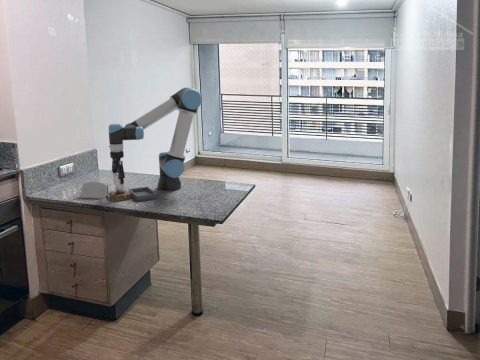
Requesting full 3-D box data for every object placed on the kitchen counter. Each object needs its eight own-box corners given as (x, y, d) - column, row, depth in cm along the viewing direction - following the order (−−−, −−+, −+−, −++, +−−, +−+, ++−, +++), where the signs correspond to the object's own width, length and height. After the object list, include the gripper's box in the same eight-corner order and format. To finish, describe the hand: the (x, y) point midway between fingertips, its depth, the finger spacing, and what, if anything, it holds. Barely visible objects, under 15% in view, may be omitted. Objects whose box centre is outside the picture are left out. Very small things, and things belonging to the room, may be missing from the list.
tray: (147, 191, 286) (147, 186, 285) (157, 198, 271) (157, 193, 270) (128, 193, 280) (128, 189, 280) (137, 201, 265) (137, 196, 264)
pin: (122, 196, 275) (120, 173, 271) (124, 198, 271) (122, 175, 268) (115, 197, 273) (114, 174, 269) (117, 199, 269) (115, 176, 266)
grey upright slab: (79, 197, 273) (80, 180, 274) (82, 197, 278) (84, 181, 279) (105, 198, 271) (107, 181, 272) (109, 198, 276) (110, 182, 277)
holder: (126, 194, 279) (125, 189, 278) (130, 198, 270) (130, 194, 269) (109, 197, 274) (109, 192, 273) (113, 201, 265) (113, 196, 265)
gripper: (105, 147, 274) (107, 182, 279) (115, 155, 253) (118, 192, 258) (117, 146, 277) (119, 180, 282) (129, 154, 256) (131, 190, 261)
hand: (118, 186), depth 270 cm, fingers open, 13 cm apart
